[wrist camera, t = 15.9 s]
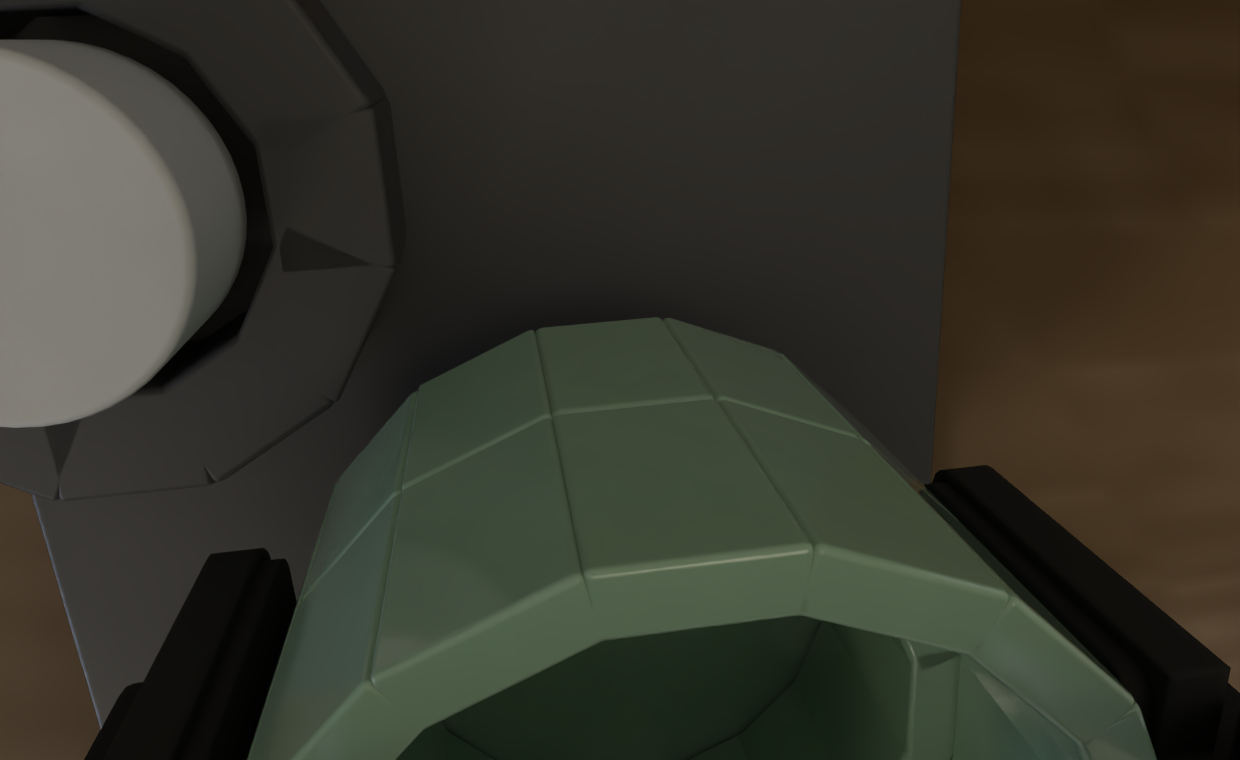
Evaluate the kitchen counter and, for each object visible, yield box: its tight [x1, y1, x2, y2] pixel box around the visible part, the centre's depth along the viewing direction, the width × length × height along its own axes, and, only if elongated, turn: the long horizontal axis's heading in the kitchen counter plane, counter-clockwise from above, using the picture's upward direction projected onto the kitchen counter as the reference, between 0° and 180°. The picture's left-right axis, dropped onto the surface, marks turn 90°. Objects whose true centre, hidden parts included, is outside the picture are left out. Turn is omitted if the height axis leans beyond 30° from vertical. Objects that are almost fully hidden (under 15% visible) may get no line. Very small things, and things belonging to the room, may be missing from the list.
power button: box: [0, 40, 247, 428], centre depth 9 cm, size 3×3×2 cm
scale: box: [0, 0, 961, 728], centre depth 12 cm, size 13×13×3 cm
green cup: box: [247, 317, 1157, 760], centre depth 9 cm, size 7×7×6 cm
